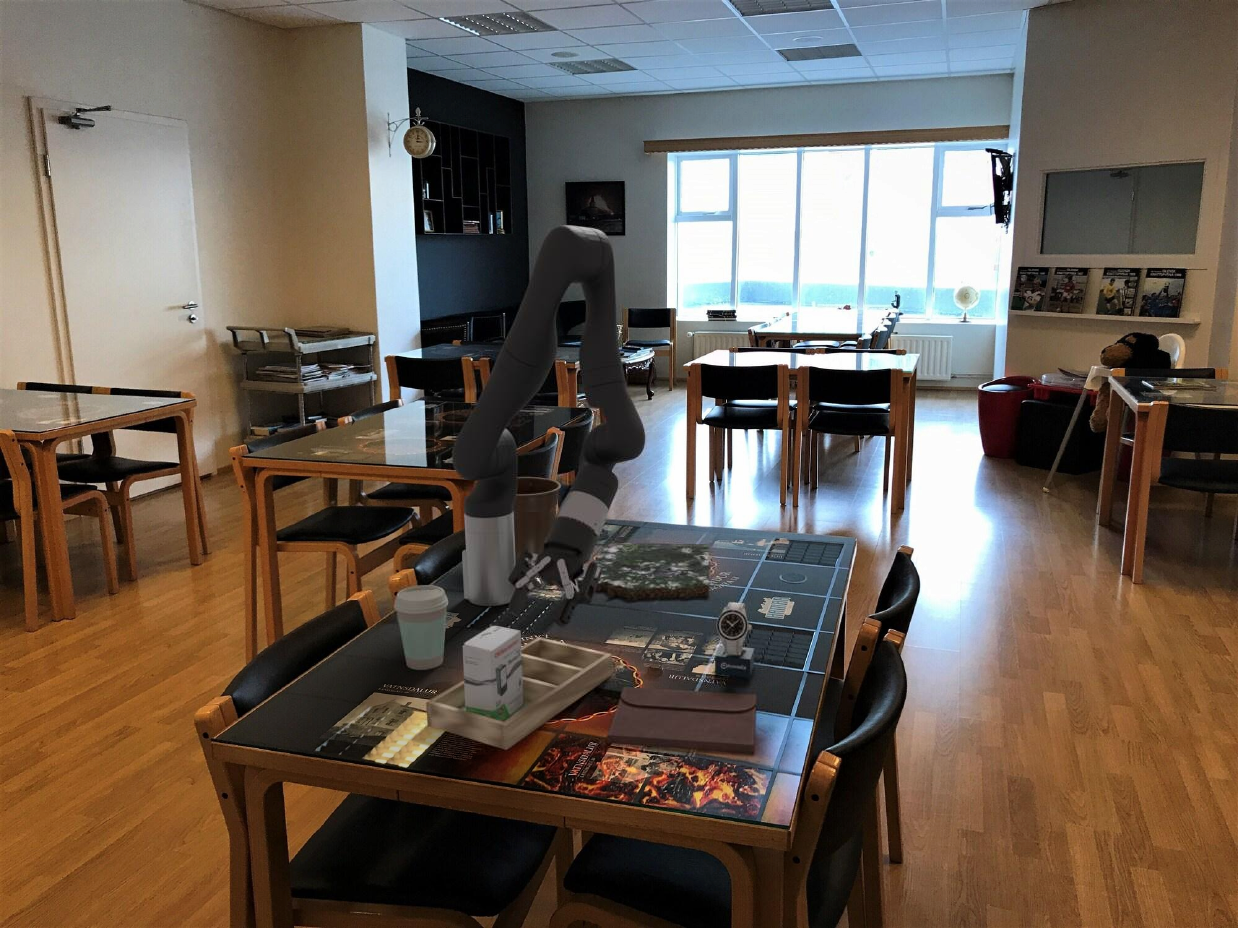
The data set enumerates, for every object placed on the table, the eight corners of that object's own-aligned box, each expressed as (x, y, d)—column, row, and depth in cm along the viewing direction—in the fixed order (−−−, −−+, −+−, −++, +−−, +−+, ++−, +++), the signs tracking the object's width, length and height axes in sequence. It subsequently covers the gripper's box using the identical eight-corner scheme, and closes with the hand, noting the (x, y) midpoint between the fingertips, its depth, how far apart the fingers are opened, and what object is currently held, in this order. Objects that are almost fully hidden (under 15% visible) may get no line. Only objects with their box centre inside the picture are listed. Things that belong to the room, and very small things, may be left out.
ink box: (494, 730, 136) (490, 650, 133) (464, 723, 138) (460, 645, 135) (525, 704, 143) (522, 628, 141) (495, 698, 145) (492, 623, 143)
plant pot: (571, 548, 219) (569, 478, 215) (550, 571, 203) (548, 495, 200) (502, 544, 222) (499, 475, 219) (476, 566, 207) (473, 492, 203)
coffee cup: (460, 655, 162) (457, 586, 159) (434, 676, 154) (430, 604, 151) (415, 649, 164) (411, 581, 162) (387, 669, 156) (382, 598, 154)
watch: (712, 679, 151) (713, 612, 149) (721, 658, 159) (722, 594, 157) (748, 683, 150) (749, 615, 148) (756, 662, 157) (757, 597, 155)
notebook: (754, 756, 129) (754, 743, 129) (607, 746, 133) (606, 733, 132) (756, 705, 144) (756, 692, 144) (623, 697, 147) (623, 685, 147)
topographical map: (709, 551, 217) (709, 538, 216) (708, 603, 185) (708, 588, 184) (593, 549, 219) (593, 536, 218) (573, 601, 187) (572, 586, 187)
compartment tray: (427, 725, 138) (426, 702, 137) (539, 656, 161) (538, 637, 160) (506, 749, 131) (505, 725, 130) (612, 674, 153) (611, 654, 153)
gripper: (530, 508, 154) (486, 599, 147) (606, 521, 147) (564, 617, 140) (550, 532, 160) (509, 621, 153) (624, 545, 153) (585, 639, 146)
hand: (536, 619), depth 147 cm, fingers open, 8 cm apart
